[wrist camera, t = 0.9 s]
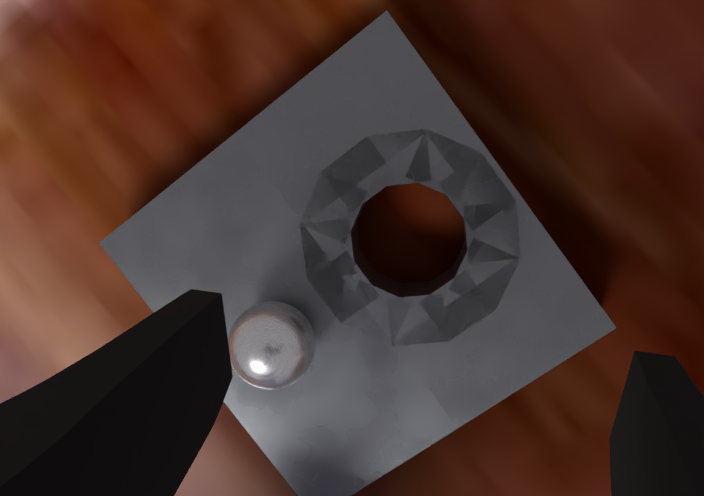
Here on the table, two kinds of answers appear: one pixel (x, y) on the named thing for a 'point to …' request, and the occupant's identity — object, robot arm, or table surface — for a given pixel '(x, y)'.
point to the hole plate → (363, 267)
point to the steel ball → (271, 345)
